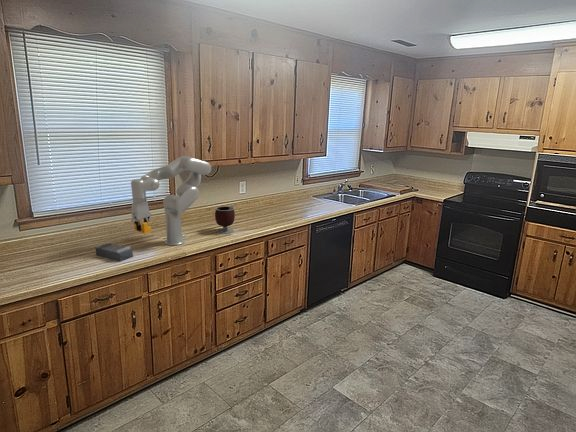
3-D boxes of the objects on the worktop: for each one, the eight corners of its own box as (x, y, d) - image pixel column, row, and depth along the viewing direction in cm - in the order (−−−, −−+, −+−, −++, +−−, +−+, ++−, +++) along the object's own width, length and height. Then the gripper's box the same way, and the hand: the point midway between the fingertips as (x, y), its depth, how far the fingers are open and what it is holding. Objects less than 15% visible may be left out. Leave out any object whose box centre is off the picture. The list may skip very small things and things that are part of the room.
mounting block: (109, 250, 237) (108, 241, 235) (133, 256, 228) (132, 246, 227) (96, 255, 229) (95, 245, 228) (120, 261, 221) (119, 251, 219)
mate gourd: (219, 235, 272) (218, 207, 267) (212, 229, 284) (212, 203, 279) (239, 232, 279) (239, 205, 274) (232, 227, 291) (232, 201, 286)
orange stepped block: (151, 232, 234) (150, 222, 232) (144, 234, 231) (143, 223, 229) (141, 228, 242) (140, 218, 240) (134, 229, 239) (133, 219, 237)
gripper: (145, 196, 240) (148, 224, 245) (123, 202, 225) (126, 232, 230) (155, 197, 236) (157, 226, 242) (132, 204, 222) (136, 234, 227)
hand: (142, 229), depth 236 cm, fingers closed on orange stepped block, 4 cm apart
